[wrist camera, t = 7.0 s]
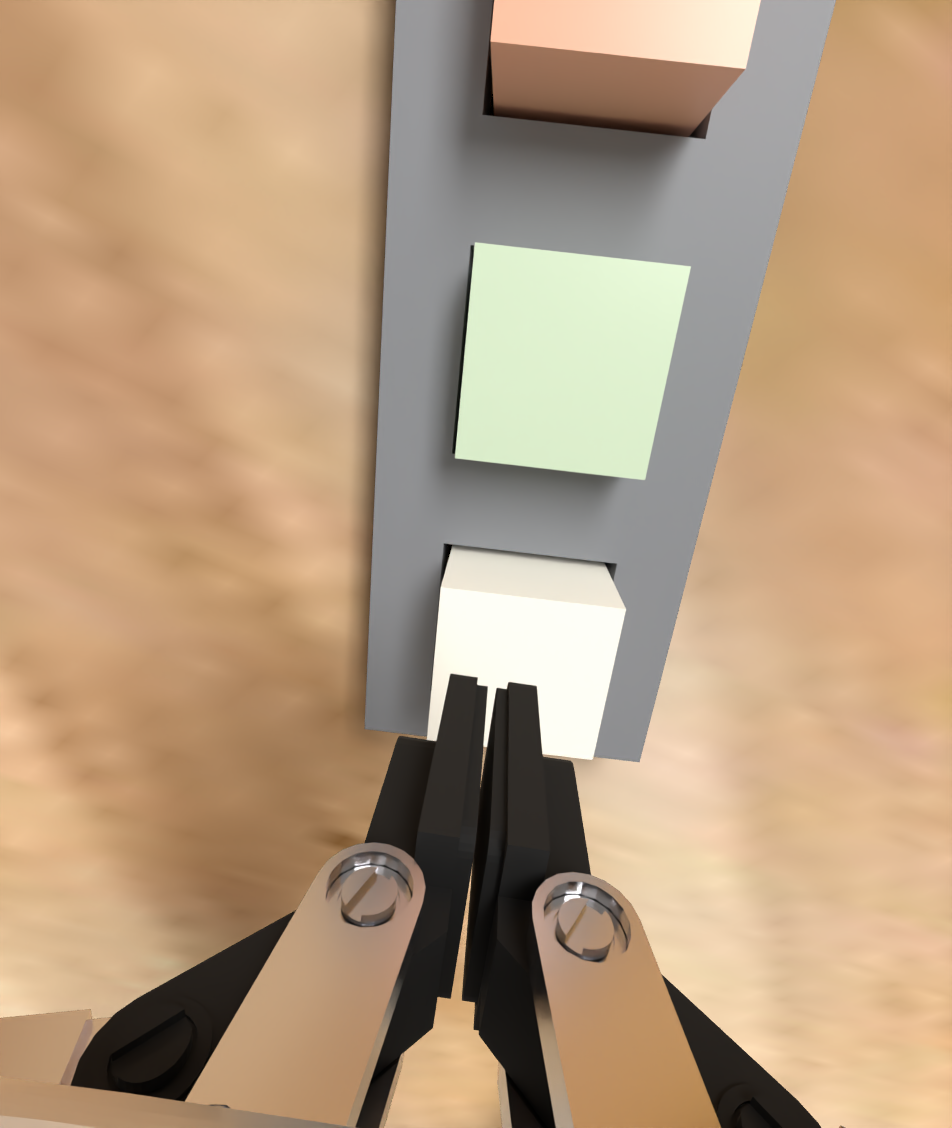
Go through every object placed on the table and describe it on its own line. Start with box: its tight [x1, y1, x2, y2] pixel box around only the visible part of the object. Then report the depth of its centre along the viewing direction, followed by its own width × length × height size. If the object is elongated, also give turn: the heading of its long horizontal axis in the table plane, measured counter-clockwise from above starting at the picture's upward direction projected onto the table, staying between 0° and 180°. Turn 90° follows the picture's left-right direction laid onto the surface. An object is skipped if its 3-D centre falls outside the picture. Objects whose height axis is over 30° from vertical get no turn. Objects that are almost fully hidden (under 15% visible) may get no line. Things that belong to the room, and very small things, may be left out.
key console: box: [365, 0, 836, 762], centre depth 20 cm, size 12×31×3 cm, turn 174°
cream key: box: [427, 544, 626, 760], centre depth 22 cm, size 6×6×5 cm
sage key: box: [455, 242, 691, 480], centre depth 19 cm, size 6×6×5 cm
